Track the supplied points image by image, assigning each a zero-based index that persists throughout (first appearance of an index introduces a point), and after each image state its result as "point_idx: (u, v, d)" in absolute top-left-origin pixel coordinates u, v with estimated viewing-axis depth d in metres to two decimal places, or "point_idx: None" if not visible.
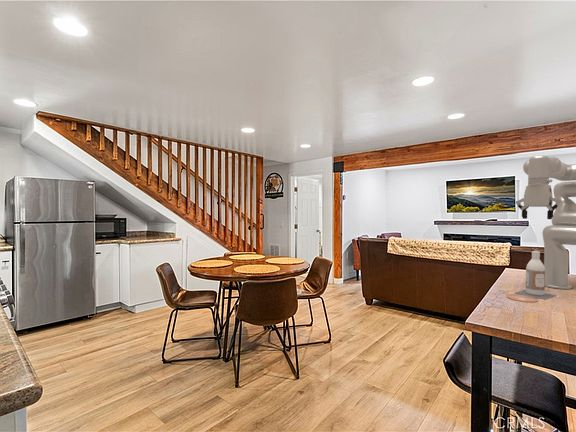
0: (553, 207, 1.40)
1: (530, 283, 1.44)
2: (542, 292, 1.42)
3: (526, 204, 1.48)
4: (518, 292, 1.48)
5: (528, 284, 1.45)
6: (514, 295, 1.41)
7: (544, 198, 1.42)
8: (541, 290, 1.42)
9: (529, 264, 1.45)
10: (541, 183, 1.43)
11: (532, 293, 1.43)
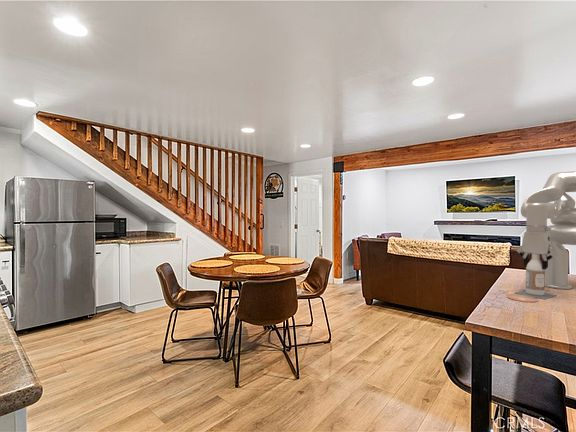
0: (548, 258, 1.40)
1: (530, 283, 1.44)
2: (542, 292, 1.42)
3: (524, 251, 1.47)
4: (518, 292, 1.48)
5: (528, 284, 1.45)
6: (514, 295, 1.41)
7: (543, 247, 1.41)
8: (541, 290, 1.42)
9: (529, 264, 1.45)
10: (539, 231, 1.41)
11: (532, 293, 1.43)
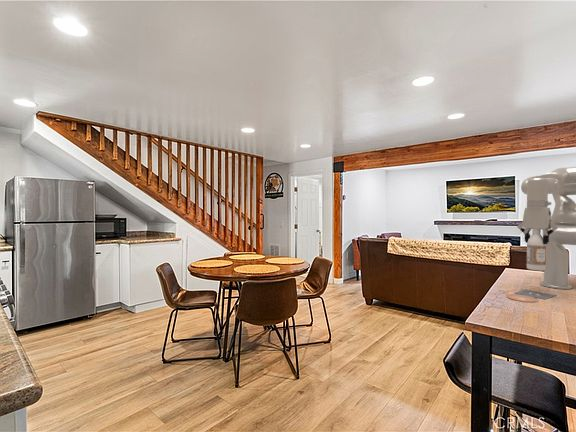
0: (548, 232, 1.40)
1: (531, 258, 1.44)
2: (543, 267, 1.42)
3: (525, 226, 1.47)
4: (518, 292, 1.48)
5: (529, 259, 1.45)
6: (514, 295, 1.41)
7: (543, 221, 1.41)
8: (542, 265, 1.42)
9: (530, 239, 1.45)
10: (540, 206, 1.41)
11: (533, 268, 1.43)
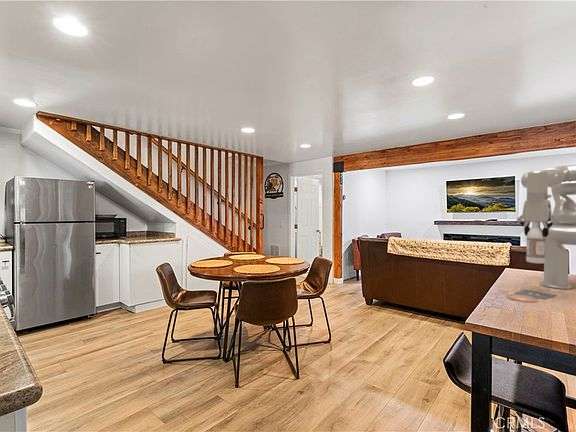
0: (548, 225, 1.40)
1: (531, 251, 1.43)
2: (543, 260, 1.41)
3: (525, 219, 1.46)
4: (518, 292, 1.48)
5: (529, 252, 1.44)
6: (514, 295, 1.41)
7: (543, 214, 1.40)
8: (542, 258, 1.41)
9: (529, 232, 1.44)
10: (540, 199, 1.41)
11: (533, 261, 1.43)
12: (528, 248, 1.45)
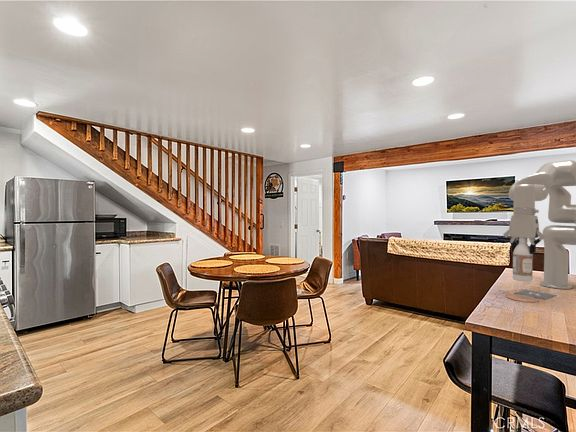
0: (535, 241, 1.33)
1: (517, 269, 1.36)
2: (529, 278, 1.34)
3: (512, 235, 1.39)
4: (518, 292, 1.48)
5: (515, 270, 1.37)
6: (514, 295, 1.41)
7: (530, 230, 1.33)
8: (528, 276, 1.34)
9: (516, 249, 1.37)
10: (527, 214, 1.34)
11: (519, 279, 1.36)
12: (514, 265, 1.38)
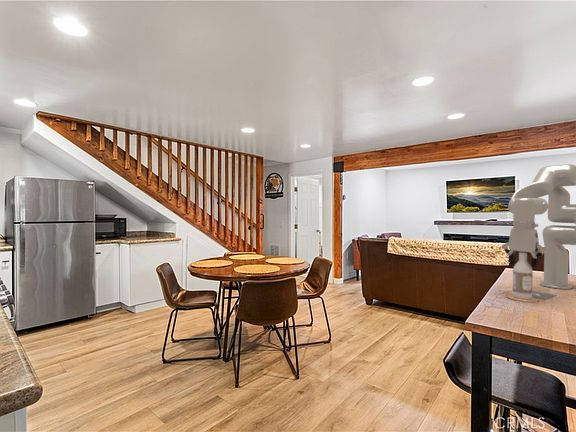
0: (537, 255, 1.32)
1: (517, 286, 1.37)
2: (529, 295, 1.35)
3: (511, 248, 1.40)
4: None
5: (515, 287, 1.38)
6: None
7: (530, 244, 1.33)
8: (528, 294, 1.35)
9: (516, 266, 1.38)
10: (526, 228, 1.34)
11: (519, 296, 1.36)
12: (514, 282, 1.38)
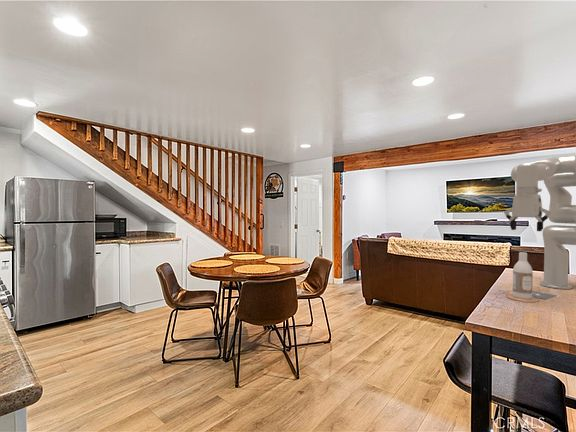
0: (543, 218, 1.32)
1: (517, 286, 1.37)
2: (529, 295, 1.35)
3: (515, 215, 1.40)
4: None
5: (515, 287, 1.38)
6: None
7: (533, 209, 1.33)
8: (528, 294, 1.35)
9: (516, 266, 1.38)
10: (530, 193, 1.34)
11: (519, 296, 1.36)
12: (514, 282, 1.38)
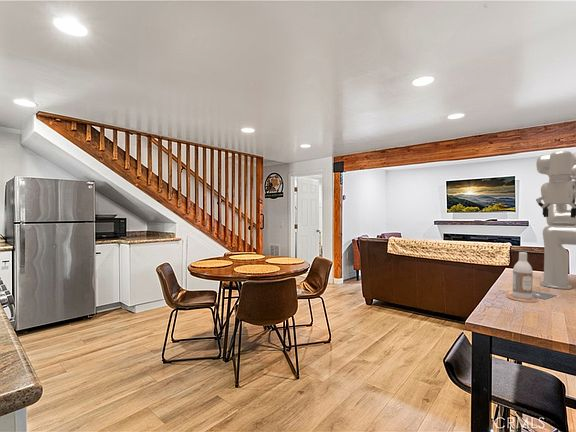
0: None
1: (517, 286, 1.37)
2: (529, 295, 1.35)
3: (547, 202, 1.42)
4: None
5: (515, 287, 1.38)
6: None
7: (567, 195, 1.36)
8: (528, 294, 1.35)
9: (516, 266, 1.38)
10: (564, 180, 1.37)
11: (519, 296, 1.36)
12: (514, 282, 1.38)
